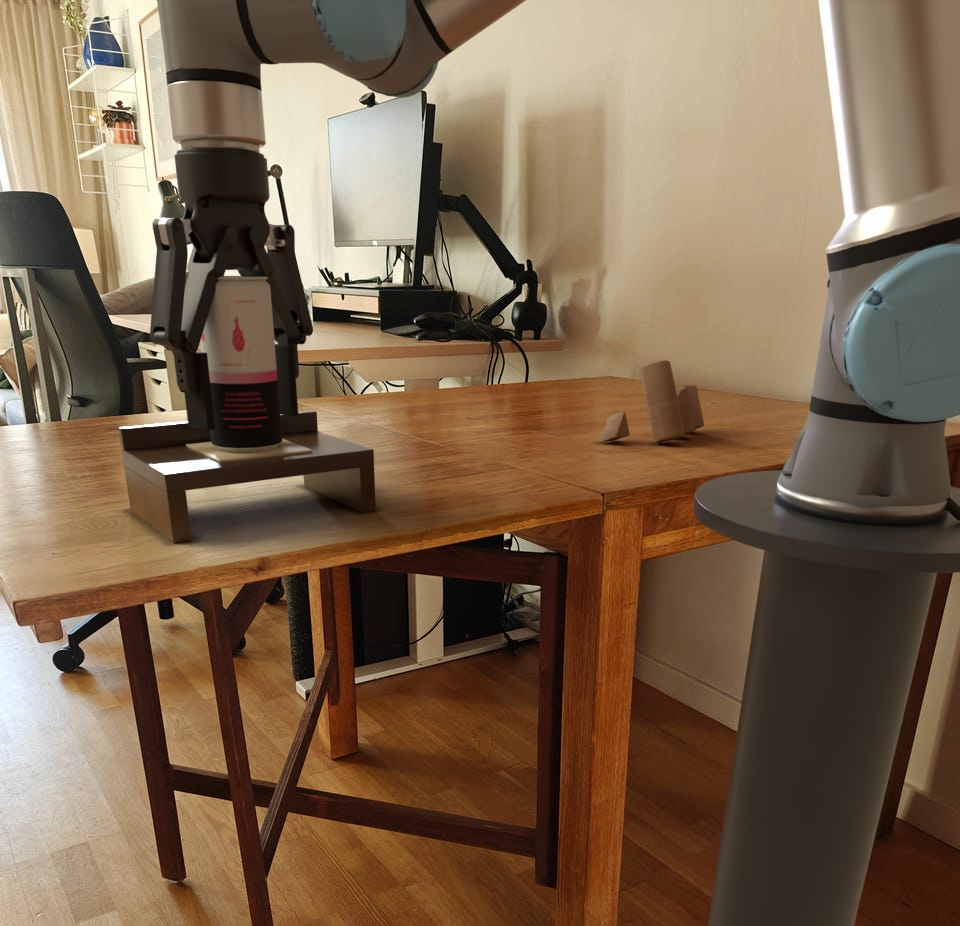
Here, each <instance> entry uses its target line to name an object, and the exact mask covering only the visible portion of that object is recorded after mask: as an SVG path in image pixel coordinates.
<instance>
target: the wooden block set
mask: <svg viewBox="0 0 960 926" xmlns="http://www.w3.org/2000/svg"><path fill="white" fill-rule="evenodd" d="M671 364H672V363H671V362H670V361H669V360H659V361H655V362H652V363H649V364H647V365H644V366H643V367H641V368H640V370H639V373H640V379H641V384H642V389H643V392H644V397H645V403H646V407H647V412H648V417H649V421H650V427H651V431H652V437H653V441H654V443H656V444H660V443H666V442H670V441H673V440H676V439H679V438H682V437H684V436H686V435H689V434H692V433H695V432H696V431H697V430H699V429H700V428H703V427H705V422H704V417H703V411H702V407H701V401H700V397H699V392H698V387H697V385H695V384H693V385H692V384H691V385H683V386H680V387H677V388H676V384H675V380H674V375H673V369H672V365H671ZM601 434H602V435H601V436H600V439H599V443H607V442H616V441H618V440H620V439H623V438H627V437H629V436H630V435H631V433H630V428H629V424H628V418H627V414H626V411H625V410H623V411H621V412H618V413H616V414H612V415H610V416H608V418H607V419H606V423H605V426H604V429H603V431H602V433H601Z"/></svg>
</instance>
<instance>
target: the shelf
mask: <svg viewBox="0 0 960 926" xmlns="http://www.w3.org/2000/svg"><path fill="white" fill-rule="evenodd" d="M280 417H281V430H282V442H281V443H280V444H279V445H278V447H277V448H275V449H272V450H267V451H261V452H247V453H237V452H225V451H221V450H218V449H217V447H215V446H214V445H212V443H211V435H210V430H203V429H197V428H191V427H188V420H187V421H176V422H175V421H174V422H165V423H153V424H142V425H132V426H131V425H129V426H118V427H117V429H118V436H119V443H120V448H121V456H122V461H123V463H122V464H123V468H124V475H125V481H126V482H125V483H126V488H127V494H128V501H129V509H130V511H131V512H132V513H133V514H134V515H136V516H138V517H139V518H140V519H142V520H143V521H144V522H145V523H147V524H148V525H149V526H150V527H152V528H153V529H155V530H156V531H157V532H159V533H160V534H161V535H163V536H164V537H165V538H167V539H168V540H169V541H170V542H172V543H173V544H175V543H176V544H177V543H183V542H188V541H192V540H193V539H192V529H191V522H190V514H189V506H188V498H187V491H191V490H200V489H207V488H216V487H223V486H231V485H237V484H247V483H254V482H261V481H268V480H276V479H284V478H285V479H286V478H292V477H299V476H303V487H304V488H307V489H310V490H312V491H313V492H316V493H318V494H320V495H322V496H324V497H327V498H329V499H331V500H334V501H335V502H338V503H340V504H341V505H342V504H343V505H345V506H346V507H349V508H351V509H353V510H355V511H358V512H360V513H366V512H373V511H376V510H377V507H376V506H377V505H376V504H377V503H376V502H377V501H376V480H375V479H376V475H375V450H374V448H371V447H367V446H365V445H362V444H357V443H355V442H353V441H349V440H346V439H343V438H340V437H337V436H335V435H331V434H328V433H326V432H322V431H319V425H318V412H317V410H313V409H312V410H303V411H302V410H301V411H298V415H295V416H290V415H283V414H280Z"/></svg>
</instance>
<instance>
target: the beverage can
mask: <svg viewBox="0 0 960 926" xmlns="http://www.w3.org/2000/svg"><path fill="white" fill-rule="evenodd" d="M218 279H220V280H219V281H218V282H217V284H216V291H215V294H214V297H213V301H212V304H211V307H210V310H209V314H208V317H207V320H206V324H205V327H204V330H203V334H202V337H201V340H200V344H199V346H200V352H203V353H207V358H208V367H209V376H210V385H211V395H212V404H213V413H214V422H215V429H214V430H210V435H211V443H212V445H214V446H215V447H217V449H218V450H221V451H225V452H237V453H247V452H261V451H267V450H272V449H275V448H277V447H278V445H279V444H280V443H281V442H282V430H281V417H280V404H279V392H278V379H277V366H276V354H275V344H276V343H275V342H276V341H275V340H274V328H273V315H272V303H271V290H270V285H269V284H268V282H267V281H266V279H268V278H267V277H242V276H241V275H224V276H223V277H219V278H218Z"/></svg>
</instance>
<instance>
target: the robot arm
mask: <svg viewBox="0 0 960 926" xmlns="http://www.w3.org/2000/svg"><path fill="white" fill-rule="evenodd" d="M526 1H527V0H156V4H157V11H158V17H159V25H160V34H161V41H162V50H163V57H164V66H165V75H166V76H165V77H166V91H167V99H168V101H167V102H168V110H169V119H170V127H171V128H170V129H171V136H172V140H173V141H174V142H175V143H176V144H178V145H180V146H181V148H180V149H178V150H176V154H174V155H173V156H174V164H175V175H176V184H177V191H178V195H179V197H180V198H181V199H182V200H183V203H184V211H183V215H182V217H181V218H179V217H157V218H154V219H153V221H152V223H151V224H152V231H153V236H154V237H153V238H154V241H155V246H156V247H155V248H156V253H155V254H156V255H155V267H154V280H153V291H152V303H151V314H150V315H151V316H150V328H149V339H150V342H151V343H152V344H153V345H158V346H161V347H163V348H164V349H165V350H166V351H169V352H171V353H172V355H173V360H174V369H175V377H176V385H177V387H178V389H179V391H183V392H184V401H185V409H186V417H187V421H188V427H191V428H197V429H203V430H214V429H215V422H214V413H213V404H212V395H211V385H210V376H209V367H208V358H207V353H203V352H201V351H198V349H199V347H200V340H201V337H202V334H203V330H204V327H205V324H206V320H207V317H208V314H209V310H210V307H211V304H212V301H213V297H214V294H215V291H216V284H217V282H218V281H219V280H220V279H218V278H219V277H223V276H225V274H226V271H237V272H238V275H239V276H242V277H267V278H268V279H266V281H267V282H268V284H269V285H270V290H271V303H272V315H273V328H274V341H275V342H276V343H275V354H276V366H277V379H278V392H279V404H280V414H283V415H290V416H295V415H298V412H299V404H298V403H299V402H298V390H297V379H299V375H300V364H299V350H298V349H299V348H298V345H304V344H305V343H306V342H307V337H311V336H312V335H313V333H314V326H313V322H312V318H311V313H310V309H309V305H308V301H307V297H306V293H305V289H304V284H303V281H302V276H301V272H300V268H299V265H298V260H297V256H296V242H295V241H296V235H295V233H296V232H295V228H294V227H293V226H292V225H291V224H272V223H270V222H269V220H268V218H267V216H266V210H265V206H266V203H267V202H268V201H269V199H270V195H271V194H270V184H269V183H270V181H269V169H268V168H269V167H268V158H266V157H265V154H263V153H261V152H260V151H261V150H260V149H262V148H263V147H265V146H266V144H267V143H266V142H267V141H266V132H265V119H264V106H263V94H262V71H261V70H262V69H261V68H262V66H261V65H270V66H271V65H279V64H322V65H324V66H325V67H328V68H329V69H331V70H333V71H336V72H337V73H339V74H342V75H344V76H345V77H348V78H350V79H353V80H355V81H357V82H358V83H360V84H362V85H363V86H365V87H366V88H367V89H368V90H370V91H372V92H374V93H375V94H380V95H383V96H386V97H393V98H399V99H400V98H403V99H404V98H409V97H412V96H413V97H414V96H415V95H418V93H420V92H421V91H423V90H424V89H425V88H426V87H427V86H428V85H429V83H430V82H431V81H432V79H433V77H434V75H435V73H436V70H437V69H438V64H439V62H440V61H441V60H443V59H444V58H445V57H447V56H448V55H449V54H451V53H453V52H454V51H456V50H457V49H458V48H460V47H461V46H463V45H464V44H466V43H467V42H468V41H470V40H471V39H473V38H475V37H476V36H477V35H478V34H480V33H481V32H483V31H484V30H486V29H487V28H489V27H490V26H492V25H493V24H494V23H496V22H497V21H499V20H501V18H503V17H504V16H506V15H507V14H510V12H511V11H513V10H515V9H516V8H517V7H519V6H520V5H522V4H523V3H525V2H526ZM817 2H818V9H819V11H818V12H819V19H820V27H821V34H822V35H821V36H822V43H823V51H824V59H825V67H826V75H827V82H828V83H827V84H828V92H829V99H830V108H831V116H832V125H833V132H834V141H835V150H836V157H837V166H838V173H839V181H840V182H839V183H840V192H841V198H842V207H843V215H844V218H843V220H842V222H841V225H840V227H839V229H838V230H837V232H836V233H835V235H833V238H832V240H830V243H828V245H827V247H826V249H825V254H826V261H827V262H826V263H827V269H828V277H827V282H826V285H827V286H826V287H827V288H828V292H827V298H826V299H827V300H826V304H825V310H824V316H823V323H822V328H821V335H820V341H819V347H818V354H817V358H816V359H817V360H816V366H815V370H814V376H813V377H814V378H813V383H812V389H811V396H810V402H809V407H808V408H809V410H808V414H807V419H806V422H805V424H804V425H803V428H802V430H801V432H800V434H799V436H798V438H797V440H796V442H795V444H794V446H793V448H792V450H791V451H790V454H789V456H788V458H787V459H786V462H785V464H784V465H781V466H782V467H781V469H780V470H781V473H780V476H779V478H778V482H777V489H776V495H775V498H776V500H777V502H779V503H780V504H781V505H783V506H784V507H786V508H788V509H791V510H793V511H796V512H799V513H802V514H805V515H809V516H813V517H817V518H822V519H827V520H832V521H838V522H844V523H852V524H861V525H872V526H919V525H927V524H932V523H936V522H939V521H942V520H944V519H945V518H946V517H947V515H948V512H949V513H950V514H952V515H953V516H954V517H955V518H956V519H957V520H958V521H959V520H960V506H958V505H957V504H956V503H955V502H954V501H953V500H952V499H951V498H952V494H951V487H952V484H951V476H950V468H949V460H948V450H947V443H946V435H945V429H946V423H947V420H948V419H952V418H955V417H958V416H960V0H817ZM189 243H191V244H192V249H191V253H190V256H189V254H188V244H189ZM188 256H189V259H188ZM187 271H188V275H187Z"/></svg>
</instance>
